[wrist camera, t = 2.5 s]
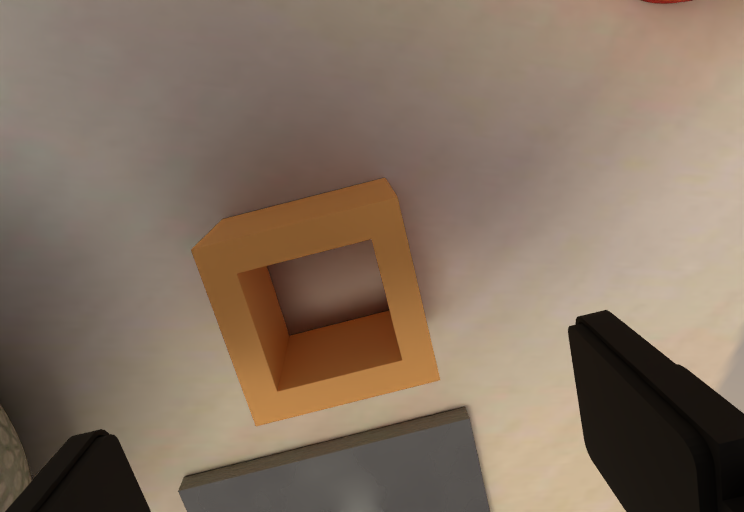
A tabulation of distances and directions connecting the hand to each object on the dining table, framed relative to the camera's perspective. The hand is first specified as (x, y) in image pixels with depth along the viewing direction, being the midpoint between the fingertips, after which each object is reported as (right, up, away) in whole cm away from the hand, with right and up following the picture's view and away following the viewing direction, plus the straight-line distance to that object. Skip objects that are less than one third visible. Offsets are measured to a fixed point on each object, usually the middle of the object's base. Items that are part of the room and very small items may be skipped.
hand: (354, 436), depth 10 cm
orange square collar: (-1, +3, +9) cm, 9 cm away
